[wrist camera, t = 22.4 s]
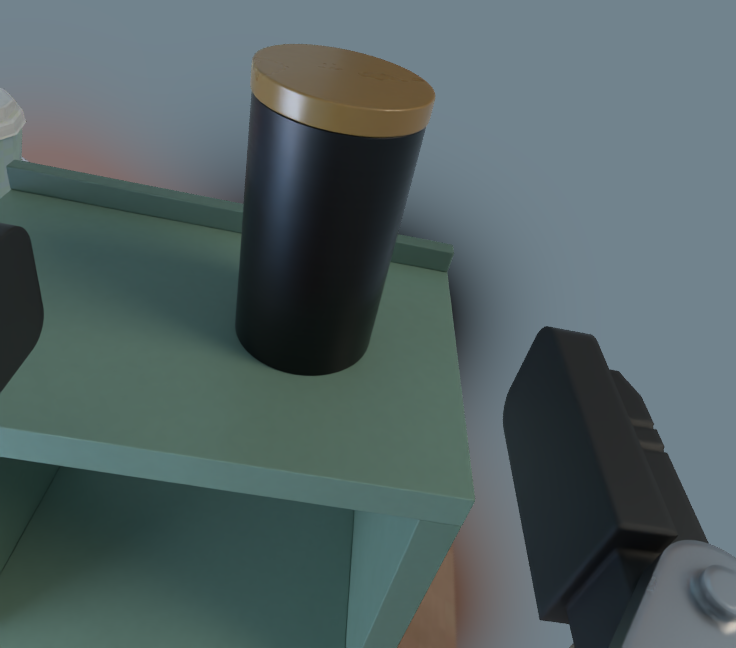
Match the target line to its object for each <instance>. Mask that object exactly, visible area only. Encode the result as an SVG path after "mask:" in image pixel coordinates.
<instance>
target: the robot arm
mask: <svg viewBox="0 0 736 648" xmlns="http://www.w3.org/2000/svg"><path fill="white" fill-rule="evenodd" d="M43 321H44V308H43V302H42V297H41V291H40V286H39V281H38V275H37V270H36V265H35V259H34V254H33V249H32V243H31V239H30V236H29V234H28V232H27V231H26V230H25V229H24V228H23V227H21V226H15V225H10V224H5V223H0V393H1V392H2V390H3V389H4V388H5V386H6V385H7V384H8V382H9V381H10V380H11V378H12V377H13V375H14V374H15V373H16V371H17V370H18V369H19V367H20V366H21V365H22V363H23V362H24V361H25V359H26V358H27V357H28V355H29V354H30V353H31V351H32V350H33V349H34V347H35V346H36V344H37V342H38V339H39V337H40V334H41V331H42V327H43ZM653 425H654V423H653V421H652V419H651V416H650V414H649V412H648V410H647V408H646V406H645V404H644V401H643V399H642V397H641V396H640V395H639V393H638V392H637V391H636V390H635V389H634V388H633V387H632V386H631V385H630V383H629V382H628V381H627V380H626V379H625V378H624V377H623V376H622V374H621V373H620V372H619V371H614V370H609V368H608V366H607V363H606V361H605V358H604V356H603V354H602V352H601V349H600V346H599V344H598V342H597V340H596V338H595V337H594V336H593V335H591V334H585V333H580V332H575V331H569V330H564V329H558V328H553V327H548V326H546V327H544V328H542V329H541V330H540V331H539V333H538V334H537V336H536V338H535V340H534V342H533V344H532V346H531V348H530V350H529V352H528V354H527V356H526V358H525V360H524V362H523V364H522V366H521V368H520V370H519V372H518V373H517V376H516V377H515V380H514V382H513V383H512V385H511V387H510V390H509V392H508V394H507V397H506V401H505V405H504V412H503V427H504V433H505V438H506V444H507V449H508V454H509V460H510V465H511V470H512V476H513V481H514V486H515V491H516V497H517V502H518V507H519V513H520V518H521V523H522V529H523V533H524V539H525V544H526V550H527V555H528V560H529V566H530V571H531V576H532V581H533V587H534V592H535V597H536V602H537V608H538V613H539V619H540V620H543V621H552V622H559V623H566V624H570V629H571V633H572V638H573V642H574V643H573V644H572V645H571V646H570V647H569V648H736V558H735V557H734V556H732V555H731V554H729V553H727V552H726V551H724V550H722V549H720V548H718V547H716V546H713V545H711V544H709V543H708V541H707V539H706V537H705V534H704V532H703V530H702V528H701V526H700V523H699V521H698V519H697V517H696V515H695V513H694V510H693V508H692V506H691V504H690V502H689V500H688V497H687V495H686V493H685V491H684V489H683V486H682V484H681V482H680V480H679V478H678V475H677V473H676V471H675V469H674V467H673V464H672V462H671V460H670V458H669V456H668V454H667V453H664V445H663V443H662V440H661V438H660V436H659V434H658V432H657V430H656V429H653Z"/></svg>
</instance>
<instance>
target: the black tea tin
mask: <svg viewBox="0 0 736 648" xmlns="http://www.w3.org/2000/svg"><path fill="white" fill-rule="evenodd" d="M251 89H252V94H251V108H250V122H249V136H248V150H247V164H246V179H245V192H244V206H243V220H242V234H241V248H240V262H239V276H238V290H237V304H236V319H235V330H236V334H237V337H238V339H239V341H240V343H241V344H242V346H243V347H244V348H245V350H246V351H247V352H248V353H249V354H250V355H251V356H253V357H254V358H255V359H257V360H258V361H260V362H261V363H263V364H265V365H267V366H269V367H271V368H273V369H276V370H279V371H282V372H285V373H290V374H295V375H303V376H321V375H328V374H333V373H337V372H340V371H342V370H345V369H347V368H349V367H351V366H352V365H354V364H355V363H356V362H358V361H359V360H360V359H361V358H362V357H363V355H364V354H365V352H366V351H367V348H368V346H369V342H370V338H371V334H372V330H373V327H374V323H375V319H376V315H377V311H378V308H379V304H380V300H381V296H382V292H383V289H384V285H385V281H386V277H387V273H388V270H389V266H390V262H391V258H392V254H393V251H394V247H395V243H396V239H397V235H398V231H399V227H400V224H401V219H402V216H403V213H404V209H405V205H406V201H407V197H408V193H409V190H410V186H411V182H412V178H413V174H414V171H415V167H416V162H417V159H418V155H419V152H420V148H421V144H422V140H423V136H424V133H425V129H426V126H427V124H428V122H429V120H430V116H431V113H432V109H433V105H434V101H435V92H434V90H433V88H432V87H431V86H430V85H429V84H428V83H427V82H426V81H425V80H423V79H422V78H421V77H419V76H418V75H416V74H414V73H412V72H411V71H409V70H407V69H405V68H403V67H401V66H398V65H396V64H393V63H391V62H388V61H385V60H382V59H379V58H376V57H373V56H369V55H366V54H362V53H358V52H354V51H350V50H345V49H340V48H334V47H326V46H318V45H307V44H283V45H275V46H271V47H267V48H263V49H261V50H259V51H257V53H255V55H254V56H253V59H252V70H251Z"/></svg>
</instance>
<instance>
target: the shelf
mask: <svg viewBox="0 0 736 648" xmlns="http://www.w3.org/2000/svg"><path fill="white" fill-rule="evenodd" d="M6 169H7V174H8V179H9V184H10V188H11V190H10V191H9V192H8V193H6V194H5V195H4V196H3V197H2V198H0V223H5V224H10V225H15V226H21V227H23V228H24V229H25V230H26V231H27V232H28V234H29V236H30V239H31V243H32V249H33V254H34V259H35V265H36V270H37V275H38V281H39V286H40V291H41V297H42V302H43V308H44V321H43V327H42V331H41V334H40V337H39V339H38V342H37V344H36V346H35V347H34V349H33V350H32V351H31V353H30V354H29V355H28V357H27V358H26V359H25V361H24V362H23V363H22V365H21V366H20V367H19V369H18V370H17V371H16V373H15V374H14V375H13V377H12V378H11V380H10V381H9V382H8V384H7V385H6V386H5V388H4V389H3V390H2V392H1V393H0V648H397V646H398V645H399V643H400V641H401V639H402V637H403V635H404V633H405V631H406V630H407V628H408V626H409V624H410V622H411V620H412V618H413V616H414V614H415V613H416V611H417V609H418V607H419V605H420V603H421V601H422V599H423V598H424V596H425V594H426V592H427V590H428V588H429V586H430V584H431V582H432V581H433V579H434V577H435V575H436V573H437V571H438V569H439V567H440V566H441V564H442V562H443V560H444V558H445V556H446V554H447V552H448V550H449V549H450V547H451V545H452V543H453V541H454V539H455V537H456V535H457V534H458V531H459V530H460V528H461V526H462V524H463V523H464V520H465V519H466V517H467V515H468V513H469V511H470V509H471V508H472V506H473V504H474V502H475V495H474V488H473V479H472V471H471V463H470V455H469V446H468V439H467V430H466V423H465V414H464V406H463V398H462V390H461V382H460V373H459V365H458V357H457V349H456V341H455V334H454V325H453V317H452V309H451V301H450V292H449V284H448V277H447V271H448V269H449V266H450V263H451V260H452V257H453V254H454V251H453V245H450V244H445V243H440V242H435V241H430V240H425V239H420V238H414V237H409V236H404V235H399V234H398V235H397V239H396V243H395V247H394V251H393V254H392V258H391V262H390V266H389V270H388V273H387V277H386V281H385V285H384V289H383V292H382V296H381V300H380V304H379V308H378V311H377V315H376V319H375V323H374V327H373V330H372V334H371V338H370V342H369V346H368V348H367V351H366V352H365V354H364V355H363V357H362V358H361V359H360V360H359V361H358V362H356V363H355V364H354V365H352V366H351V367H349V368H347V369H345V370H342V371H340V372H337V373H333V374H328V375H321V376H303V375H295V374H290V373H285V372H282V371H279V370H276V369H273V368H271V367H269V366H267V365H265V364H263V363H261V362H260V361H258V360H257V359H255V358H254V357H253V356H251V355H250V354H249V353H248V352H247V351H246V350H245V348H244V347H243V346H242V344H241V343H240V341H239V339H238V337H237V334H236V330H235V319H236V304H237V290H238V276H239V262H240V248H241V234H242V220H243V206H244V204H240V203H235V202H230V201H225V200H220V199H215V198H209V197H204V196H199V195H194V194H189V193H184V192H179V191H174V190H169V189H163V188H158V187H153V186H148V185H143V184H138V183H132V182H127V181H123V180H117V179H112V178H107V177H102V176H97V175H92V174H87V173H82V172H76V171H71V170H66V169H61V168H56V167H51V166H45V165H40V164H35V163H30V162H25V161H20V160H13V161H12V162H11V163H9V164H8V165H7V166H6Z"/></svg>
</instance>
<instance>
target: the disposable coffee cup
mask: <svg viewBox="0 0 736 648" xmlns="http://www.w3.org/2000/svg"><path fill="white" fill-rule="evenodd" d="M25 123H26V120H25V117H24V113H23V110H22V109H21V107H20V106H19V105H18V104H17V102H16V101H15V100H14V99H13V98H12V96H11V95H10V94H9V93H8V92H7V91H6V90H4V89H2V88H0V198H2V197H3V196H4V195H5V194H6V193H8V192H9V191H10V190H11V188H10V184H9V179H8V174H7V169H6V166H7V165H8V164H9V163H11V162H12V161H13V160H20V161H21V153H22V127H23V126H24V124H25Z"/></svg>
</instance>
